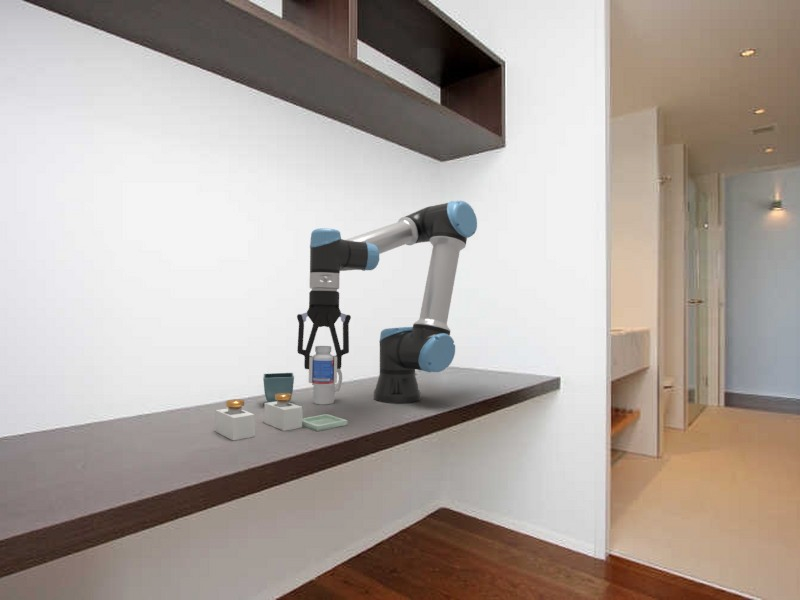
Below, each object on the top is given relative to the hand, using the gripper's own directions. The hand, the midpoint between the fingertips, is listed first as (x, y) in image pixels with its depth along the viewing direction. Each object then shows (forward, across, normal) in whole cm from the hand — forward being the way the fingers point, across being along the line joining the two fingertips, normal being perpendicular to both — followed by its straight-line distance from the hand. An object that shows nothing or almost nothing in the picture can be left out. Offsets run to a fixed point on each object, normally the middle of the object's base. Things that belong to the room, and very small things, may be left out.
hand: (322, 381), depth 118 cm
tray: (+11, 0, 0) cm, 11 cm away
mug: (+11, +4, +28) cm, 30 cm away
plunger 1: (+10, -20, -5) cm, 23 cm away
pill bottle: (+1, 0, 0) cm, 1 cm away
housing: (+11, -15, -2) cm, 19 cm away
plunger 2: (+10, -10, +1) cm, 14 cm away
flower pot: (+11, -11, +26) cm, 30 cm away
